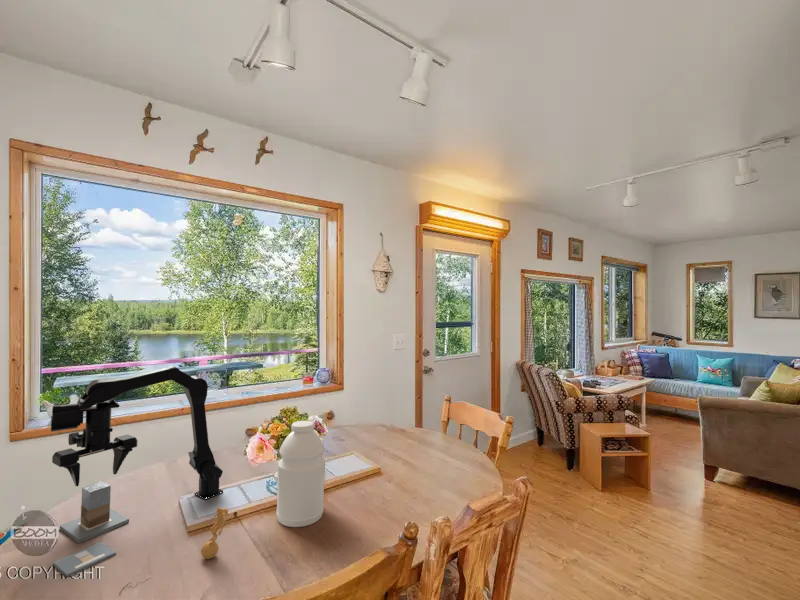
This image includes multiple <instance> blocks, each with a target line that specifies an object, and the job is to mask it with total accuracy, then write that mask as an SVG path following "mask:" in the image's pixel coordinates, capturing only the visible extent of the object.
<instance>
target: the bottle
mask: <svg viewBox="0 0 800 600" xmlns="http://www.w3.org/2000/svg"><path fill="white" fill-rule="evenodd" d="M314 429H315V424H314V422H313V421H310V420H297V421H294V422H292V424H291V425H290V430H291V432H290V433H289V434H288V435H287V436H286V437H285V439H284V440H283V441H282V443H281V445H280V448H279V450H278V452H279V453H278V454H279V455H280V456H281V459H279V461H277V487H276V491H277V492H276V493H277V495H276V510H275V511H276V513H275V514H276V518H277V521H278V522H279V524H281V525H282V526H286V527H291V528H301V527H306V526H310V525H312V524H314V523H316V522H319V520H321V518H322V517H323V513H324V509H325V506H324V497H325V496H324V492H325V468H326V467H325V465H326V461H325V460H326V459H324V456H323V455H322V454H323V453H324V451H325V447H324V446H325V445H324V443H323V441H322V439H321V438H320V436H319V435H318V433H316V432H315V431H314Z"/></svg>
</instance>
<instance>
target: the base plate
mask: <svg viewBox="0 0 800 600" xmlns="http://www.w3.org/2000/svg"><path fill="white" fill-rule="evenodd" d="M128 523H130V519H129V518H128V517H127V516H125V515H123V514H121V513H120V512H118V511H116V510H115V509H113V508H112V507H110V517H109V521H107V522H104V523H102V524H99V525H97V526H94V527H92V528H87V527H86V526H84V525H83V524H81V517H79V518H76V519H74V520H71V521H68V522H65V523H63V524H61V525H59V530H60V529H61V530H60V531H62V530H63V531H64V532H65V534H66V535H67V536H68V535H69V536H68V537H69V538H71V539H72V538H73V539H72V540H73V541H75V542H76V543H78V544H81V543H83V542H85V541H87V540H91V539H92V538H95V537H99V536H100V535H102V534H105V533H107V532H109V531H111V530H114V529H117V528H119V527H121V526H124V525H127V524H128ZM63 531H62V532H63ZM64 532H63V533H64Z"/></svg>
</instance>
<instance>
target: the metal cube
mask: <svg viewBox="0 0 800 600" xmlns="http://www.w3.org/2000/svg"><path fill="white" fill-rule="evenodd" d="M111 489H112V487H111V484H109V483H107V482H106V481H104V480H101V481H97V482H94V483H92V484H89V485H86V486H83V487H81V503H80V504H81V505H82V506H83V507H85V508H86V509H88V510H92V509H95V508H98V507H100V506H103V505H106V504H109V503H110V504H111V491H112V490H111Z"/></svg>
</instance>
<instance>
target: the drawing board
mask: <svg viewBox="0 0 800 600" xmlns="http://www.w3.org/2000/svg"><path fill="white" fill-rule="evenodd" d="M116 553H117V552H116V551H115V550H114V549H112V548H111V547H110V546H108V545H106V544H105V543H104V542H102V541H99V542H97V543H94V544H92V545H90V546H88V547H85V548H84V549H80V550H79V551H76V552H74V553H71V554H70V555H69V554H68V555H67V556H65V557H62V558H61V559H57V560H55V561H53V562H52V566H54V567H55V568H56V569H57V570H58V569H59V570H58V571H59V572H61V573H62V575H63V576H65V577H66V578H69V577H70V576H73V575H75V574H77V573H79V572H81V571H84V570H86V569H87V568H88V569H89V568H90V567H92V566H95V565H97V564H99V563H100V562H103V561H105V560H107V559H109V558H111V557H114V556H115V555H117V554H116Z"/></svg>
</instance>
